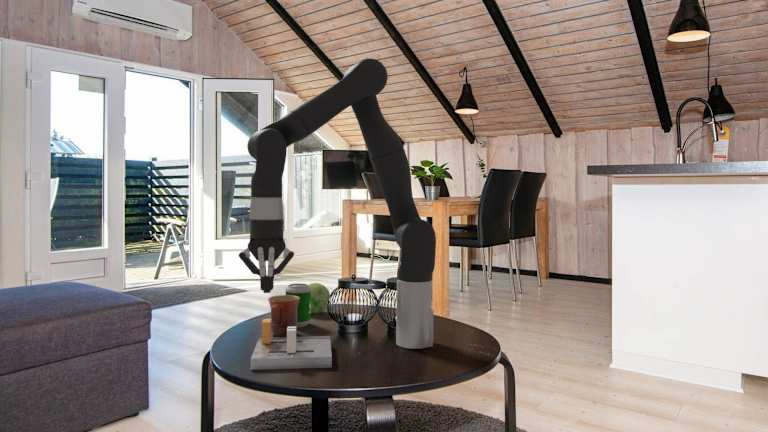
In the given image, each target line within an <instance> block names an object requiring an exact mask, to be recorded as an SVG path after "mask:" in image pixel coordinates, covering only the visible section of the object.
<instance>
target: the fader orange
mask: <svg viewBox="0 0 768 432" xmlns="http://www.w3.org/2000/svg"><path fill="white" fill-rule="evenodd" d="M271 320H272V319H271V318H263V319H262V321H261V337H262V344H264V343H270V342H271V337H272V333H271Z"/></svg>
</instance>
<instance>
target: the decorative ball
mask: <svg viewBox="0 0 768 432" xmlns="http://www.w3.org/2000/svg"><path fill="white" fill-rule="evenodd" d="M307 285H308V286H309V287H310V288H311V314H320V313H322V312H323V311H325V310H326V305H327V302H328V299H329V296H330V297H331V295H330V291H329V289H328V288H327V287H326V286H325V285H324V284H321V283H320V282H319V283H318V282H313V283H309V284H307Z"/></svg>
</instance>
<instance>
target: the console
mask: <svg viewBox="0 0 768 432" xmlns="http://www.w3.org/2000/svg"><path fill="white" fill-rule="evenodd" d="M257 339H258V340H257V342H256V344H255V347H254V349H253V352H252V354H251V357H250V370H251V371H254V370H255V371H258V370H259V371H260V370H263V371H264V370H293V369H299V370H300V369H327V368H328V369H329V368H332V367H333V366H332V365H333V364H332V363H333V362H332V361H333V355H332V344H331V343H332V342H331V335H321V336H320V335H318V336H317V335H315V336H313V335H312V336H311V335H310V336H309V335H308V336H296V353H287V337H276V336H271V342H270V343H264V344H262V336H261V337H258V338H257Z"/></svg>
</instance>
